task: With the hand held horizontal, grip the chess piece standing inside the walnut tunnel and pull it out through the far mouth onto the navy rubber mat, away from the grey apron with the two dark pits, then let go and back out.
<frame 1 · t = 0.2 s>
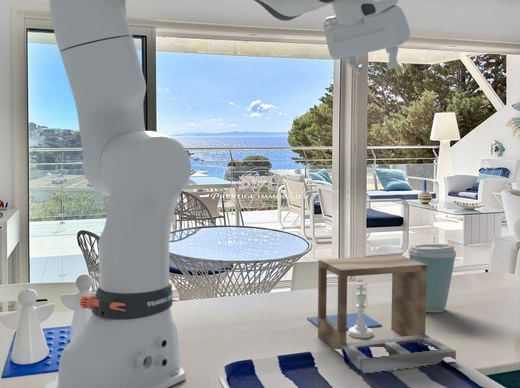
hand: (376, 71, 118), 53 cm above the table, tool tilted 25°, fingers open, 8 cm apart
chess piece: (360, 335, 107), on the table
disposable coffee cup: (430, 309, 125), on the table
tunnel: (370, 340, 103), on the table
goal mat: (343, 322, 114), on the table
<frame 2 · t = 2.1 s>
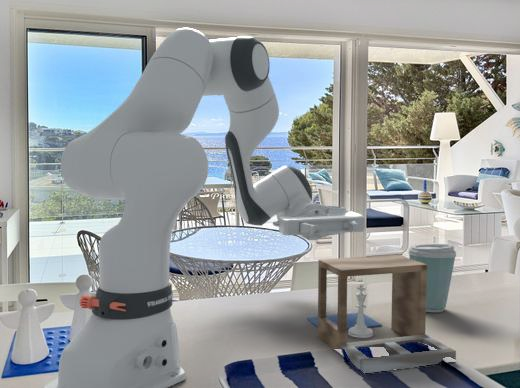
hand: (335, 228, 117), 19 cm above the table, tool horizontal, fingers open, 8 cm apart
nothing on the table moved.
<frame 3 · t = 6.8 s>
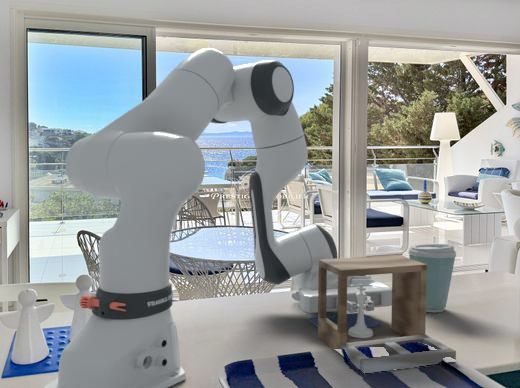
hand: (362, 307, 106), 6 cm above the table, tool horizontal, fingers closed on chess piece, 2 cm apart
chess piece: (360, 335, 107), on the table, touching gripper
everything else where it was.
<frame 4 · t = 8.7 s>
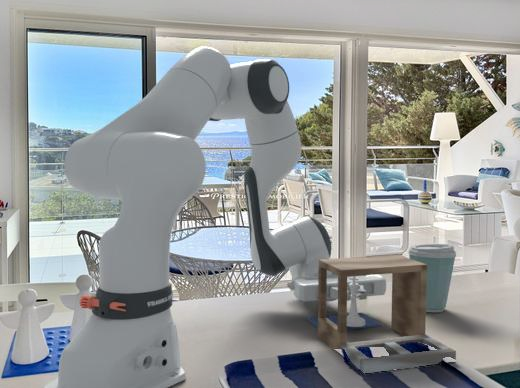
hand: (355, 296, 109), 7 cm above the table, tool horizontal, fingers closed on chess piece, 2 cm apart
chess piece: (353, 324, 110), point 1 cm above the table, touching gripper
everything else where it was.
when the fingers open (7 cm above the table, at t = 10.5 s): chess piece stays where it is, resting on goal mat.
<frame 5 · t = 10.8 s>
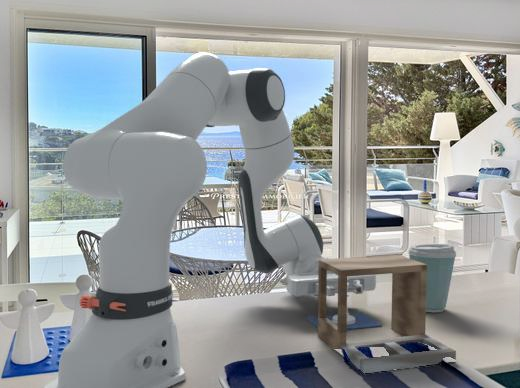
hand: (346, 291, 113), 7 cm above the table, tool horizontal, fingers open, 5 cm apart
chess piece: (343, 322, 114), resting on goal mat
everything else where it was.
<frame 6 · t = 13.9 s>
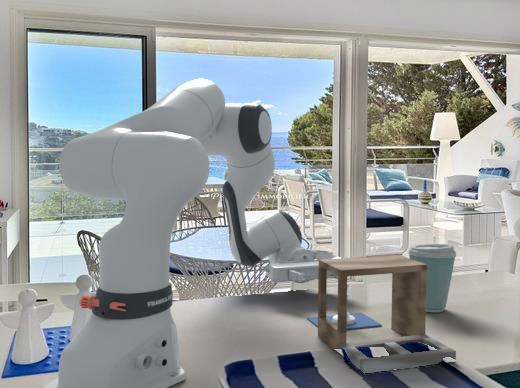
hand: (321, 276, 125), 7 cm above the table, tool horizontal, fingers open, 8 cm apart
nothing on the table moved.
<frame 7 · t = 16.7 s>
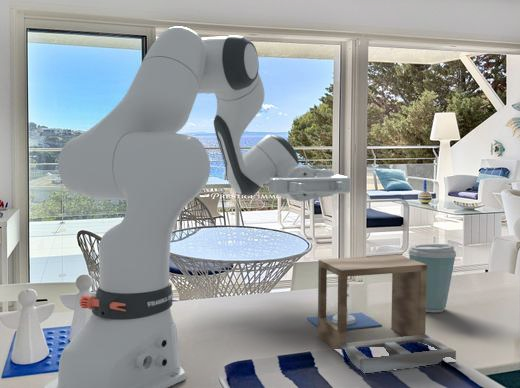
hand: (322, 187, 124), 28 cm above the table, tool horizontal, fingers open, 8 cm apart
nothing on the table moved.
at the end: chess piece 0.1 cm from the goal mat (horizontally); chess piece tilted 0°; the gripper is holding nothing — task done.
